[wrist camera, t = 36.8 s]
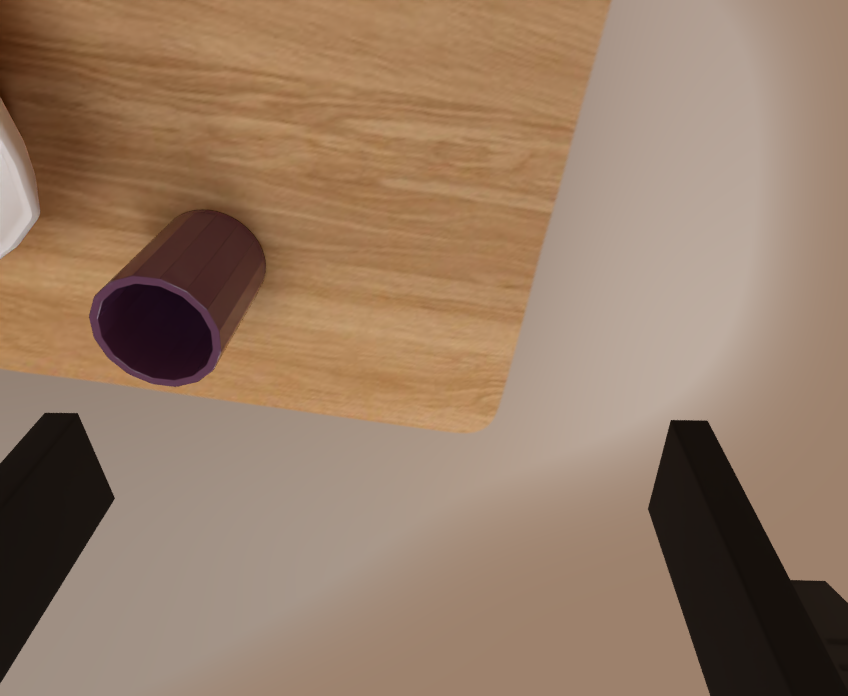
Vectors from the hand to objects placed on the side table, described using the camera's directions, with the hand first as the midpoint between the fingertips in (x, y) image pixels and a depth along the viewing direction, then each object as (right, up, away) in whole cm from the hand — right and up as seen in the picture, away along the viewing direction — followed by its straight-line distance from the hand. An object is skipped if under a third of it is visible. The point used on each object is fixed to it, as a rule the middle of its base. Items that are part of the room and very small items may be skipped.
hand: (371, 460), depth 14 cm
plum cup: (-14, +9, +29) cm, 34 cm away
